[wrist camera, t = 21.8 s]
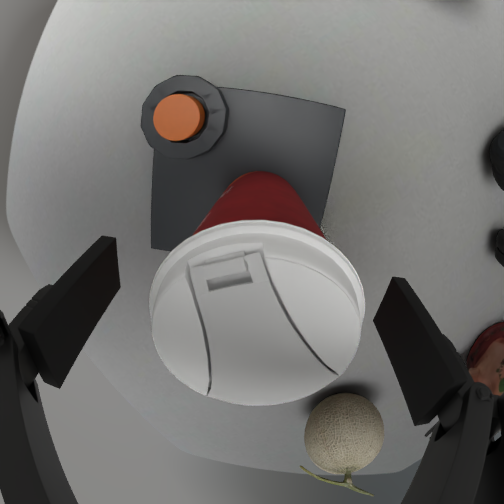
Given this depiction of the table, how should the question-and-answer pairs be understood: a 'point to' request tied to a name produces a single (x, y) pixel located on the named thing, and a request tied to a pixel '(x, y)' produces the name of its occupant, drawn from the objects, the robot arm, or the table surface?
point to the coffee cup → (257, 300)
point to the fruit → (343, 436)
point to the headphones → (500, 154)
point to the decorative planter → (489, 359)
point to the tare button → (178, 117)
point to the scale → (236, 152)
